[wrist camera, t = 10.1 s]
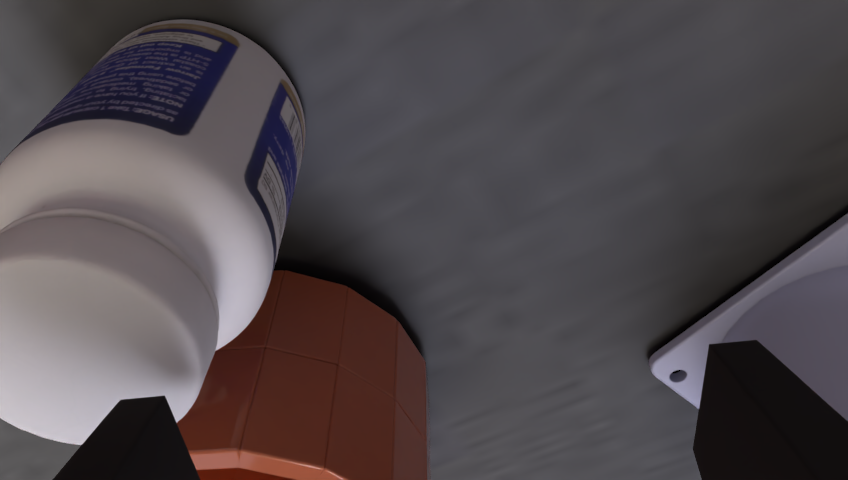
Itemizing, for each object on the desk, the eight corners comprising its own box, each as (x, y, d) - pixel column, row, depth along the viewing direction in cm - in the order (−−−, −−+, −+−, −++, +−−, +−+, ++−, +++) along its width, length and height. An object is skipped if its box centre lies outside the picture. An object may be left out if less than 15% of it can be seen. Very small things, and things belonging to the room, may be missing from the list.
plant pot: (487, 364, 24) (510, 568, 18) (313, 505, 27) (285, 710, 22) (242, 200, 20) (171, 386, 14) (83, 387, 24) (-24, 593, 18)
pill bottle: (59, 127, 19) (-170, 372, 12) (166, -34, 17) (-30, 142, 9) (234, 241, 21) (135, 513, 14) (351, 111, 19) (309, 349, 11)
